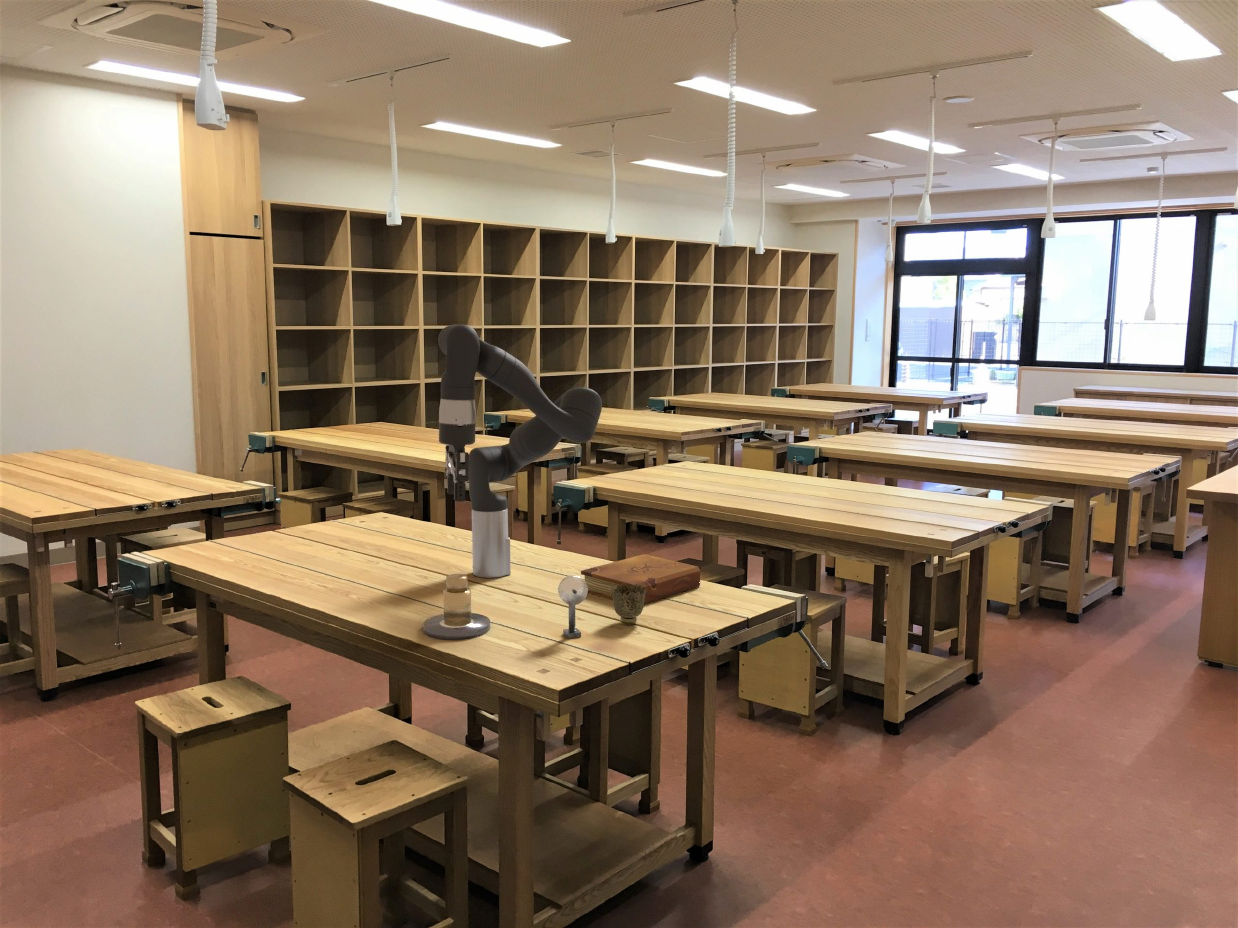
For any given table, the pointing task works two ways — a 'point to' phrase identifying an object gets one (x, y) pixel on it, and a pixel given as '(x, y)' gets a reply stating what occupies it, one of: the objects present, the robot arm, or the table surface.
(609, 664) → the table surface
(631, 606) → the cup
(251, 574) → the table surface
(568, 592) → the dial gauge
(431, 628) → the turntable
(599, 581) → the diary
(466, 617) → the weight
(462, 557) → the table surface
